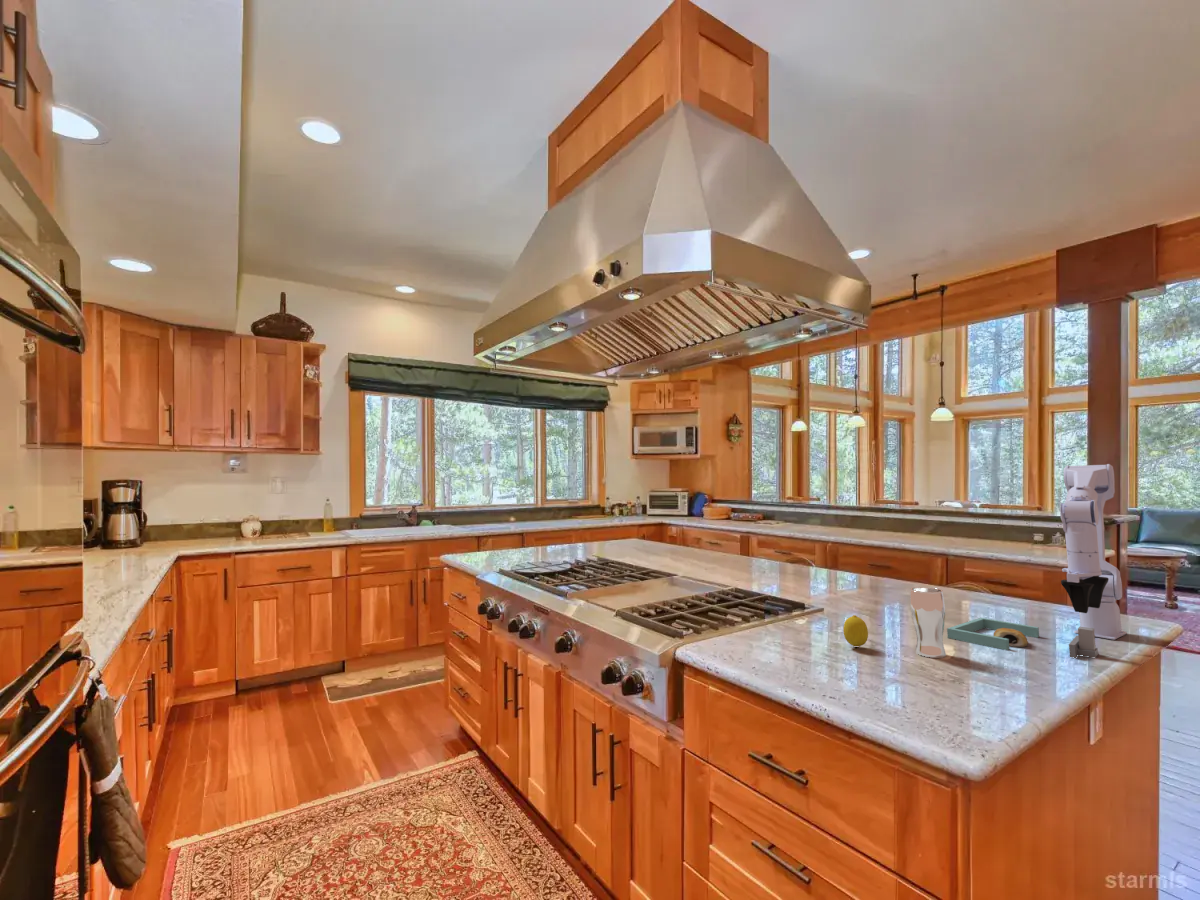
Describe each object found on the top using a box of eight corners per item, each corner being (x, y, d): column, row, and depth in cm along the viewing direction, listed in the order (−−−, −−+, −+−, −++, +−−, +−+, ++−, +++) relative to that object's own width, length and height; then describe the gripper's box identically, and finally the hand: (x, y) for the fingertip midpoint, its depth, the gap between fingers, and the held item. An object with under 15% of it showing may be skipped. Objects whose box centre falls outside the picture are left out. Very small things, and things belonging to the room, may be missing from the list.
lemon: (871, 652, 131) (869, 618, 132) (847, 651, 132) (845, 617, 133) (865, 645, 137) (863, 612, 137) (841, 644, 138) (840, 612, 138)
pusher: (1077, 648, 130) (1075, 622, 130) (1100, 651, 127) (1098, 625, 127) (1069, 657, 123) (1067, 630, 124) (1093, 661, 120) (1091, 634, 121)
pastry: (993, 636, 142) (992, 621, 142) (1026, 640, 138) (1025, 624, 138) (994, 645, 134) (993, 630, 135) (1029, 650, 130) (1027, 633, 131)
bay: (981, 626, 151) (980, 617, 151) (1039, 636, 140) (1038, 627, 140) (947, 637, 141) (947, 628, 141) (1007, 650, 130) (1006, 639, 130)
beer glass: (945, 651, 130) (941, 587, 131) (950, 660, 124) (945, 593, 125) (912, 648, 133) (908, 586, 134) (915, 657, 127) (910, 591, 128)
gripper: (1073, 547, 137) (1077, 602, 136) (1048, 552, 129) (1053, 611, 128) (1110, 549, 131) (1115, 607, 130) (1087, 555, 123) (1092, 617, 122)
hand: (1087, 609), depth 129 cm, fingers open, 7 cm apart
